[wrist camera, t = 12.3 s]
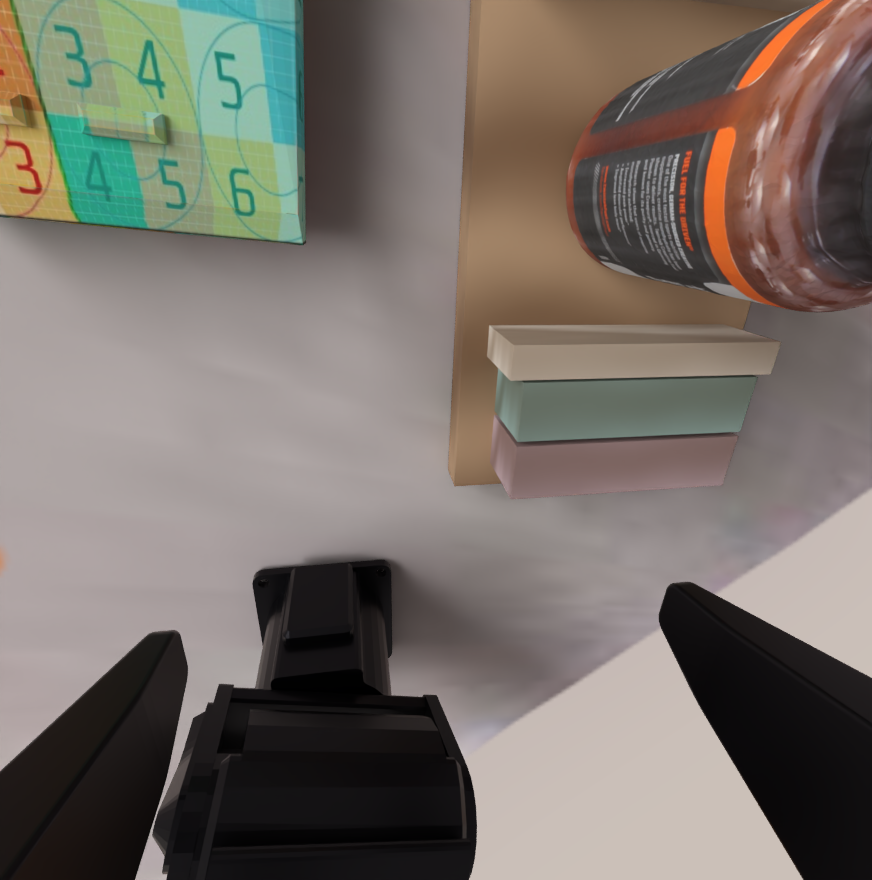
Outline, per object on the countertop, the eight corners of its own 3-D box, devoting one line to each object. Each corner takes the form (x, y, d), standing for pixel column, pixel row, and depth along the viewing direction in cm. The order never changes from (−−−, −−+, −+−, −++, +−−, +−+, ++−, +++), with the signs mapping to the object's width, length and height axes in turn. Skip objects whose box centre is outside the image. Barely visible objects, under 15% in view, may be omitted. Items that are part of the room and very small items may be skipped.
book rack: (680, 456, 24) (746, 505, 20) (448, 469, 22) (470, 526, 18) (883, -269, 14) (1094, -456, 10) (487, -362, 12) (557, -641, 8)
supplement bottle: (621, 305, 19) (935, 416, 9) (524, 185, 16) (807, 148, 6) (746, 181, 18) (1278, 147, 8) (662, 31, 15) (1280, -314, 5)
